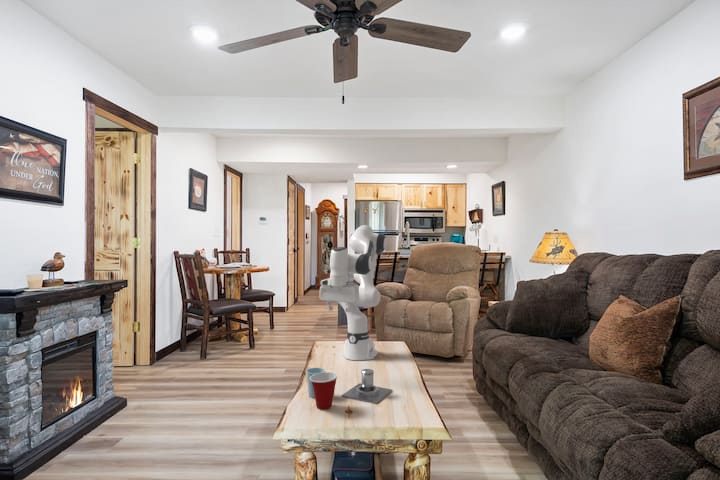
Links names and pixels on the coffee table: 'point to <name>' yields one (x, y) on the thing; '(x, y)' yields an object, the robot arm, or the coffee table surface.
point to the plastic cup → (324, 389)
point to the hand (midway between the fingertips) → (339, 311)
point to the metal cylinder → (367, 380)
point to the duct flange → (367, 394)
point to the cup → (310, 386)
